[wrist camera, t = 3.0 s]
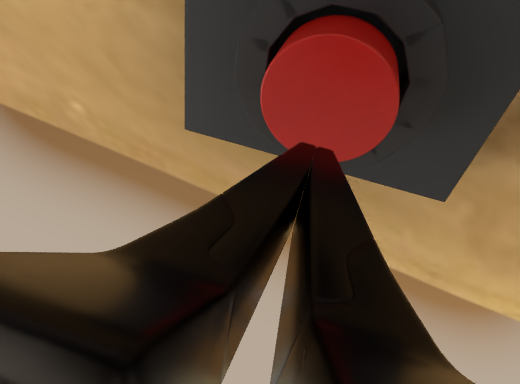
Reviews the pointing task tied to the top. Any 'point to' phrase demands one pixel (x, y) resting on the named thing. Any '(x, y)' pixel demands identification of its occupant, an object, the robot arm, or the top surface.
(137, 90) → the top surface
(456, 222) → the top surface
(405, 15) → the grey button base
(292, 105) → the power button
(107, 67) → the top surface
